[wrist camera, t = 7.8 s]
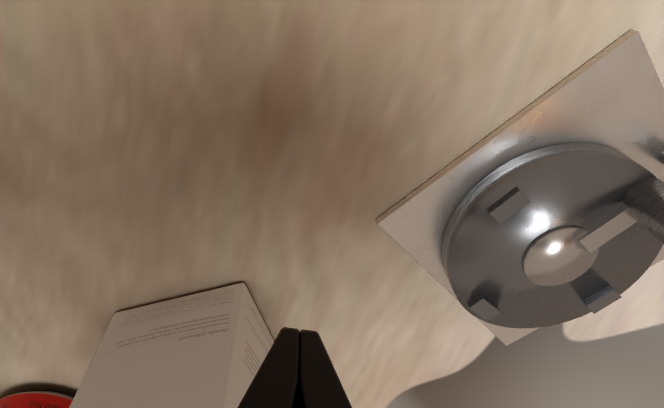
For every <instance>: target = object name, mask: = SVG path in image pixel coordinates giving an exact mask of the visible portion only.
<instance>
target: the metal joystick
mask: <svg viewBox="0 0 664 408" xmlns="http://www.w3.org/2000/svg"><path fill="white" fill-rule="evenodd" d="M663 244H664V181H662V180H661V179H659V178H657V177H656V176H655V175H654V174H652V173H651V172H650V171H648V170H647V169H646V168H644V167H643V166H641V165H640V164H638V163H637V162H635V161H634V160H632V159H631V158H629V157H628V156H626V155H625V154H623V153H621V152H619V151H617V150H615V149H613V148H610V147H606V146H603V145H598V144H591V143H566V144H557V145H553V146H548V147H544V148H540V149H537V150H534V151H532V152H529V153H526V154H524V155H521V156H519V157H517V158H515V159H513V160H511V161H509V162H507V163H506V164H504V165H502V166H501V167H499V168H497V169H496V170H494V171H493V172H492V173H490V174H489V175H488V176H486V177H485V178H484V179H483V180H481V181H480V182H479V183H478V184H477V185H476V186H475V187H474V188H473V189H472V190H471V191H470V192H469V193H468V194H467V195H466V196H465V198H464V199H463V200H462V201H461V203H460V204H459V206H458V207H457V208H456V210H455V212H454V213H453V215H452V217H451V219H450V221H449V223H448V226H447V228H446V231H445V234H444V238H443V243H442V262H443V266H444V270H445V273H446V275H447V278H448V280H449V282H450V284H451V287H452V289H453V291H454V293H455V295H456V297H457V299H458V301H459V302H460V303H461V305H462V306H463V307H464V308H465V309H466V310H467V311H468V312H470V313H471V314H472V315H474V316H475V317H477V318H478V319H481V320H483V321H485V322H487V323H490V324H494V325H497V326H502V327H508V328H520V329H521V328H538V327H545V326H550V325H556V324H560V323H563V322H567V321H570V320H573V319H575V318H578V317H581V316H583V315H585V314H588V313H590V312H593V313H596V312H598V311H599V310H601V309H603V308H604V307H606V306H608V305H609V304H611V303H613V302H614V301H616V300H618V299H619V298H621V296H620V294H621V293H623V292H624V291H625V290H627V289H628V288H629V287H630V286H631V285H632V284H633V283H635V282H636V281H637V280H638V279H639V278H640V277H641V276H642V275H643V273H644V272H645V271H646V270H647V269H648V268H649V266H650V265H651V264H652V262H653V261H654V260H655V258H656V257H657V255H658V253H659V251H660V250H661V248H662V246H663Z"/></svg>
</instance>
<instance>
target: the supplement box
mask: <svg viewBox="0 0 664 408" xmlns="http://www.w3.org/2000/svg"><path fill="white" fill-rule="evenodd" d="M273 343H274V340H273V338H272V336H271V334H270V332H269V330H268V328H267V326H266V324H265V322H264V320H263V318H262V316H261V314H260V312H259V310H258V308H257V306H256V305H255V303H254V301H253V299H252V297H251V295H250V293H249V291H248V289H247V287H246V285H245V284H244V283H239V284H234V285H230V286H226V287H222V288H218V289H213V290H209V291H205V292H201V293H196V294H192V295H188V296H184V297H179V298H175V299H171V300H167V301H162V302H158V303H154V304H150V305H146V306H142V307H138V308H133V309H129V310H125V311H120V312H116V313H115V314H114V315H113V317H112V319H111V321H110V323H109V325H108V327H107V330H106V332H105V334H104V336H103V338H102V340H101V342H100V344H99V346H98V348H97V350H96V352H95V355H94V357H93V359H92V361H91V363H90V365H89V367H88V369H87V371H86V374H85V376H84V378H83V380H82V382H81V384H80V386H79V388H78V390H77V392H76V394H75V397H74V399H73V401H72V403H71V405H70V407H69V408H237V407H238V405H239V404H240V402H241V400H242V398H243V397H244V395H245V393H246V391H247V389H248V388H249V386H250V384H251V382H252V380H253V379H254V377H255V375H256V373H257V372H258V370H259V368H260V366H261V364H262V363H263V361H264V359H265V357H266V355H267V354H268V352H269V350H270V348H271V347H272V345H273Z"/></svg>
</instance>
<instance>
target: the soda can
mask: <svg viewBox="0 0 664 408" xmlns="http://www.w3.org/2000/svg"><path fill="white" fill-rule="evenodd" d="M73 399H74V397H72V396H69V395H66V394H63V393H58V392H52V391H31V392H21V393H16V394H12V395H9V396H6V397H3V398H1V399H0V408H69V407H70V405H71V403H72V401H73Z"/></svg>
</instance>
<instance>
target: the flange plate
mask: <svg viewBox="0 0 664 408" xmlns="http://www.w3.org/2000/svg"><path fill="white" fill-rule="evenodd" d="M566 143H591V144H598V145H603V146H606V147H610V148H613V149H615V150H617V151H619V152H621V153H623V154H625V155H626V156H628V157H629V158H631V159H632V160H634V161H635V162H637V163H638V164H640V165H641V166H643V167H644V168H646V169H647V170H648V171H650V172H651V173H652V174H654V175H655V176H656V177H657V178H659V179H661V180H662V181H664V89H663V86H662V84H661V82H660V80H659V77H658V75H657V73H656V70H655V68H654V66H653V64H652V61H651V59H650V57H649V54H648V52H647V50H646V48H645V45H644V43H643V41H642V38H641V36H640V34H639V32H638V31H635V30H630V31H628V32H627V33H626V34H624V35H623V36H622V37H620V38H619V39H618V40H616V41H615V42H614V43H612V44H611V45H610V46H608V47H607V48H605V49H604V50H603V51H601V52H600V53H599V54H597V55H596V56H595V57H593V58H592V59H591V60H589V61H588V62H587V63H585V64H584V65H583V66H581V67H580V68H579V69H577V70H576V71H575V72H573V73H572V74H571V75H569V76H568V77H566V78H565V79H564V80H562V81H561V82H560V83H558V84H557V85H556V86H554V87H553V88H552V89H550V90H549V91H548V92H546V93H545V94H544V95H542V96H541V97H540V98H538V99H537V100H536V101H534V102H533V103H531V104H530V105H529V106H527V107H526V108H525V109H523V110H522V111H521V112H519V113H518V114H517V115H515V116H514V117H513V118H511V119H510V120H509V121H507V122H506V123H505V124H503V125H502V126H501V127H499V128H498V129H496V130H495V131H494V132H492V133H491V134H490V135H488V136H487V137H486V138H484V139H483V140H482V141H480V142H479V143H478V144H476V145H475V146H474V147H472V148H471V149H470V150H468V151H467V152H466V153H464V154H463V155H462V156H460V157H459V158H457V159H456V160H455V161H453V162H452V163H451V164H449V165H448V166H447V167H445V168H444V169H443V170H441V171H440V172H439V173H437V174H436V175H435V176H433V177H432V178H431V179H429V180H428V181H427V182H425V183H424V184H422V185H421V186H420V187H418V188H417V189H416V190H414V191H413V192H412V193H410V194H409V195H408V196H406V197H405V198H404V199H402V200H401V201H400V202H398V203H397V204H396V205H394V206H393V207H392V208H390V209H389V210H387V211H386V212H385V213H383V214H382V215H381V216H379V217H378V218H377V219H376V221H377V224H378V225H379V226H380V227H381V228H382V229H383V230H384V231H385V232H386V233H387V234H388V235H389V236H391V237H392V238H393V239H394V240H395V241H396V242H397V243H398V244H399V245H400V246H401V247H402V248H403V249H404V250H405V251H406V252H408V253H409V254H410V255H411V256H412V257H413V258H414V259H415V260H416V261H417V262H418V263H419V264H420V265H421V266H422V267H423V268H424V269H426V270H427V271H428V272H429V273H430V274H431V275H432V276H433V277H434V278H435V279H436V280H437V281H438V282H439V283H440V284H441V285H442V286H444V287H445V288H446V289H447V290H448V291H449V292H450V293H451V294H452V295H453V296H454V297H455V298H456V299H457V297H456V295H455V293H454V291H453V289H452V287H451V284H450V282H449V280H448V278H447V275H446V273H445V270H444V266H443V262H442V243H443V238H444V234H445V231H446V228H447V226H448V223H449V221H450V219H451V217H452V215H453V213H454V212H455V210H456V208H457V207H458V206H459V204H460V203H461V201H462V200H463V199H464V198H465V196H466V195H467V194H468V193H469V192H470V191H471V190H472V189H473V188H474V187H475V186H476V185H477V184H478V183H479V182H480V181H481V180H483V179H484V178H485V177H486V176H488V175H489V174H490V173H492V172H493V171H494V170H496V169H497V168H499V167H501V166H502V165H504V164H506V163H507V162H509V161H511V160H513V159H515V158H517V157H519V156H521V155H524V154H526V153H529V152H532V151H534V150H537V149H540V148H544V147H548V146H553V145H557V144H566ZM663 259H664V244H663V246H662V248H661V250H660V251H659V253H658V255H657V257H656V258H655V260H654V261H653V262H652V264H651V265H650V266H652V265H654V264H656V263H658V262H659V261H661V260H663ZM650 266H649V267H650ZM457 300H458V299H457ZM476 318H477V317H476ZM477 319H478V318H477ZM479 320H480V321H481V322H482V323H483V324H484V325H485V326H486V327H487V328H488V329H489V330H490V331H491V332H492V333H493V334H494V335H496V336H497V337H498V338H499V339H500V340H501V341H502V342H503V343H504V344H505V345H506V346H507V345H509V344H510V343H512V342H514V341H516V340H518V339H520V338H521V337H523V336H525V335H527V334H529V333H531V332H532V331H534V330H536V329H538V328H540V327H538V328H521V329H520V328H508V327H502V326H497V325H494V324H490V323H487V322H485V321H483V320H481V319H479Z"/></svg>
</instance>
